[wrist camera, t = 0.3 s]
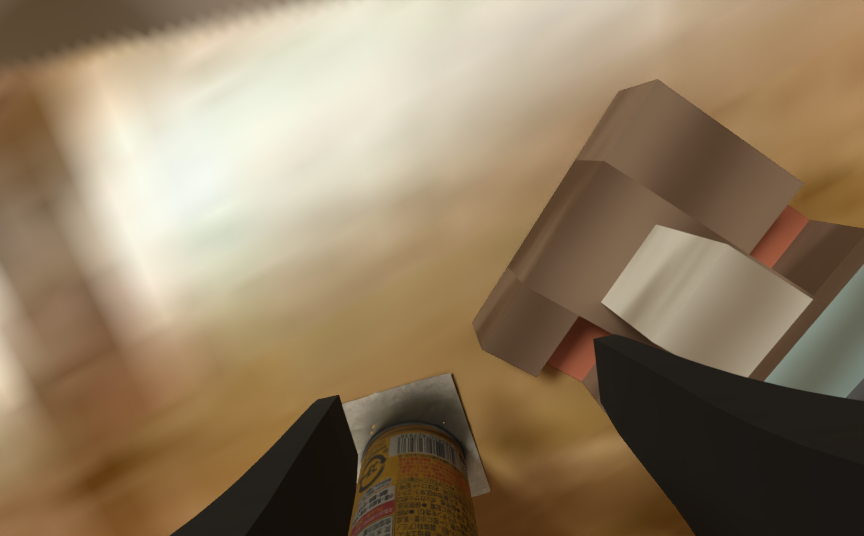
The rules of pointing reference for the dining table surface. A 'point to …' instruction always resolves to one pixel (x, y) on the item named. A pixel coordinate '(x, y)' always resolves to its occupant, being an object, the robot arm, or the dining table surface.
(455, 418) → the condiment
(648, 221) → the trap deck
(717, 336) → the block
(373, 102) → the dining table surface
